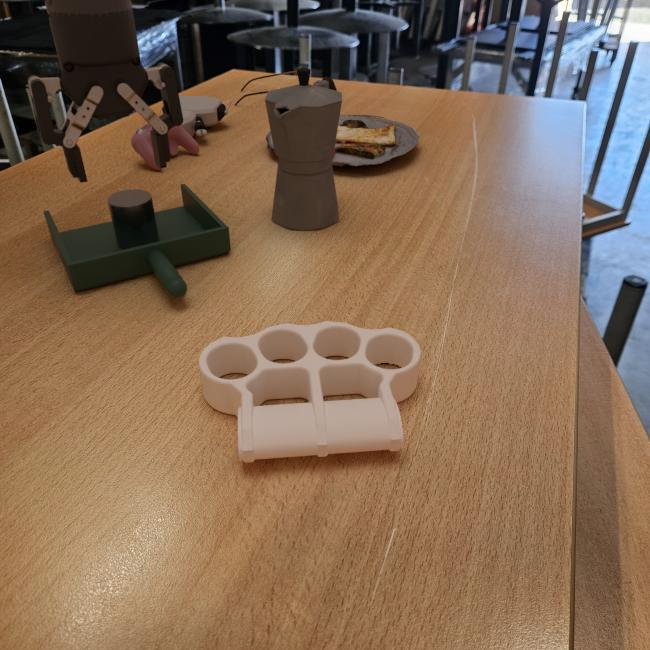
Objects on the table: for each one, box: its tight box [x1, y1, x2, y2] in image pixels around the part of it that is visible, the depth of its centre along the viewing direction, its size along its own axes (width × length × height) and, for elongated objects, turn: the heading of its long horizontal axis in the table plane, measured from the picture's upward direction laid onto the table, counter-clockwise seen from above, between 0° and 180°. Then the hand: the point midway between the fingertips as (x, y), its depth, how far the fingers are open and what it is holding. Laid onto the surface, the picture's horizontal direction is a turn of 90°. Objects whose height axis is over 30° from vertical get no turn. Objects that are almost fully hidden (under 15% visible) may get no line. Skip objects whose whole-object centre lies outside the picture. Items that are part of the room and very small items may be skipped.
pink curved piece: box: [130, 122, 200, 172], centre depth 89 cm, size 10×5×7 cm, turn 149°
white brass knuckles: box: [198, 320, 422, 464], centre depth 46 cm, size 3×18×15 cm
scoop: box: [42, 183, 232, 299], centre depth 64 cm, size 23×17×4 cm
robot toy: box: [161, 95, 233, 138], centre depth 101 cm, size 12×4×15 cm
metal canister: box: [107, 188, 159, 250], centre depth 66 cm, size 5×5×6 cm
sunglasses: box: [234, 69, 297, 107], centre depth 120 cm, size 14×15×5 cm
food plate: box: [265, 114, 422, 167], centre depth 95 cm, size 25×23×4 cm
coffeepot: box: [264, 66, 343, 232], centre depth 70 cm, size 15×9×18 cm, turn 157°
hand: (122, 172), depth 62 cm, fingers open, 8 cm apart
